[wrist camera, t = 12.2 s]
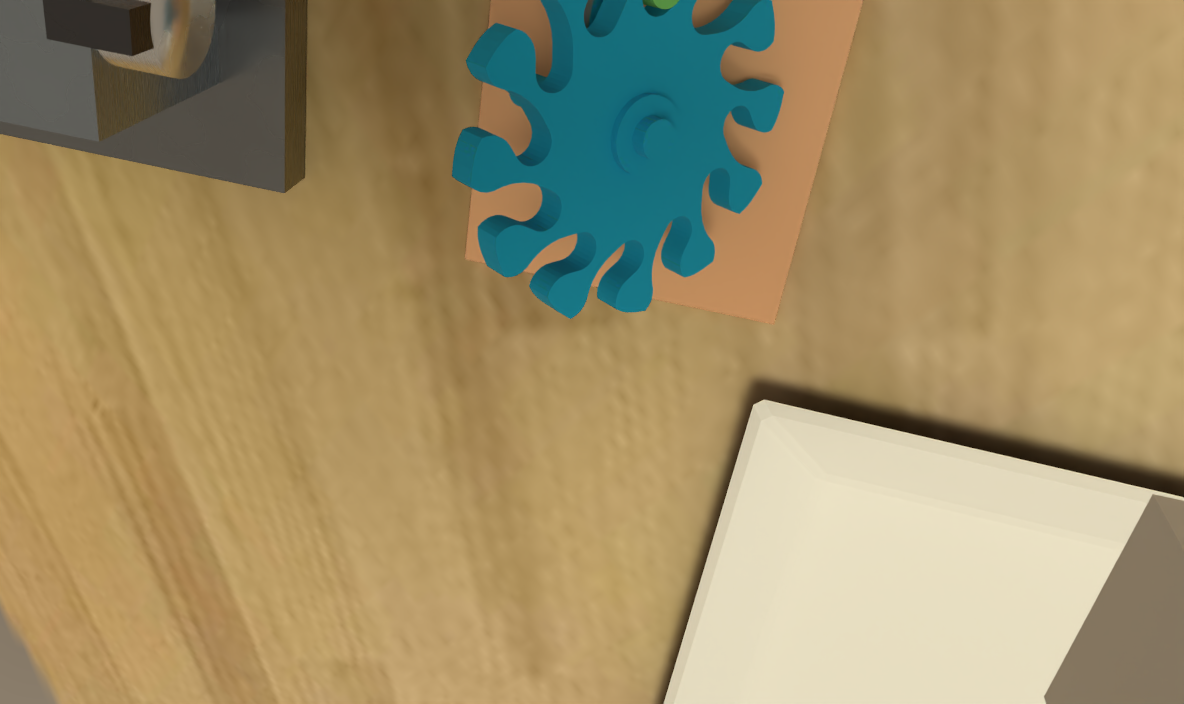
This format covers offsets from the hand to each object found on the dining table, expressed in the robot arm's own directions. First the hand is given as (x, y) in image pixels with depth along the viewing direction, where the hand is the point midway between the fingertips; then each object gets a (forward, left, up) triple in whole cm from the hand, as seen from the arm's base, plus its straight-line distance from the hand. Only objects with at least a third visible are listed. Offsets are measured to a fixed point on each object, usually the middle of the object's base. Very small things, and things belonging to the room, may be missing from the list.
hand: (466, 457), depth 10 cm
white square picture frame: (+19, +14, -21) cm, 32 cm away
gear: (0, +2, -22) cm, 22 cm away
